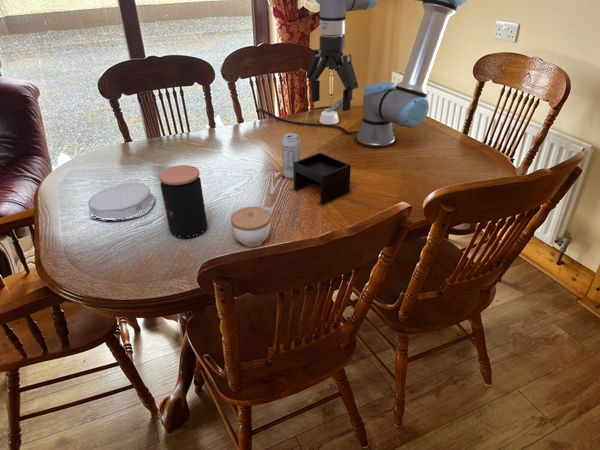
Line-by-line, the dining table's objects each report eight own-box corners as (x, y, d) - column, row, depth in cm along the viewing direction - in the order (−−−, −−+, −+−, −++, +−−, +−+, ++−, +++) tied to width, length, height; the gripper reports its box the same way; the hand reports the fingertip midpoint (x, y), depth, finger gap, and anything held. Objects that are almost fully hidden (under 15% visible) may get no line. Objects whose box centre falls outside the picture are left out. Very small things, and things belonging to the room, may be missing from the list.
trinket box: (277, 233, 127) (276, 204, 122) (262, 254, 119) (260, 224, 114) (243, 227, 130) (240, 199, 125) (226, 247, 122) (222, 218, 117)
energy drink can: (304, 176, 158) (303, 135, 150) (292, 181, 155) (290, 140, 147) (291, 171, 162) (290, 131, 154) (279, 176, 158) (277, 136, 150)
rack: (293, 189, 150) (293, 162, 144) (320, 178, 156) (320, 152, 151) (323, 204, 141) (323, 176, 136) (349, 192, 147) (350, 165, 142)
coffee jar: (173, 221, 134) (162, 165, 125) (209, 219, 135) (201, 163, 125) (167, 241, 125) (155, 183, 116) (206, 238, 126) (197, 181, 116)
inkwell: (315, 120, 207) (315, 98, 202) (346, 113, 215) (347, 92, 209) (326, 126, 200) (326, 103, 195) (358, 118, 208) (359, 97, 203)
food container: (118, 230, 130) (112, 210, 126) (75, 213, 139) (69, 193, 136) (169, 201, 144) (165, 182, 141) (127, 187, 153) (122, 168, 150)
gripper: (294, 31, 140) (295, 100, 151) (355, 42, 124) (352, 117, 135) (311, 28, 144) (312, 95, 155) (373, 38, 128) (368, 111, 139)
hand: (330, 105), depth 145 cm, fingers open, 13 cm apart
